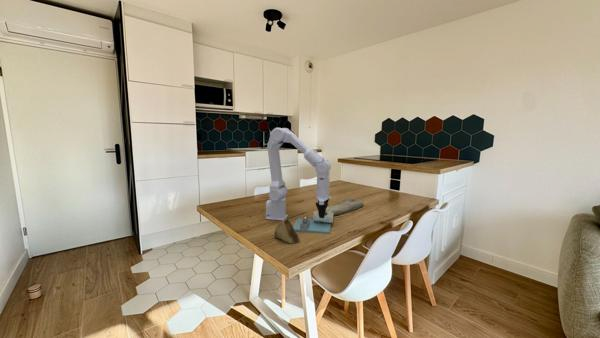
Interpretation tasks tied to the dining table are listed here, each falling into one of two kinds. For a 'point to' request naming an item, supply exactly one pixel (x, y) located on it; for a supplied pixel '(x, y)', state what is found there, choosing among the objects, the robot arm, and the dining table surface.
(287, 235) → the rock
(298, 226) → the board
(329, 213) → the silver block with hole
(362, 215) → the dining table surface
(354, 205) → the long grey stone
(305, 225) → the metal knob block
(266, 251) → the dining table surface
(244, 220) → the dining table surface
